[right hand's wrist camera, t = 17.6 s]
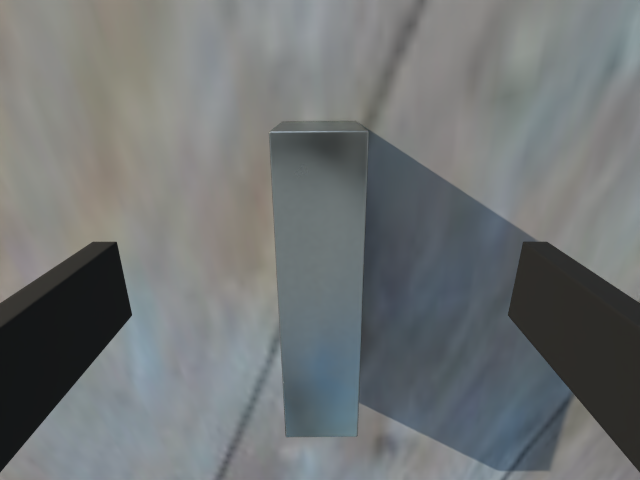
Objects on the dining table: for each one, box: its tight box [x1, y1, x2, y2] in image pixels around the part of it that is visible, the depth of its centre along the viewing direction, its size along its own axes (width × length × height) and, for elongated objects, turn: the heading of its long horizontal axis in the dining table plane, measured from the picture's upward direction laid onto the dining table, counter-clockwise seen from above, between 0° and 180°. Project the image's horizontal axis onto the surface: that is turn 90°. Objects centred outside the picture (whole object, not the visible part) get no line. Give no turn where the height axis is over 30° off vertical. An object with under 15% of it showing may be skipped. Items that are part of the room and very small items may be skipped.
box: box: [269, 121, 369, 437], centre depth 32 cm, size 26×6×8 cm, turn 0°
